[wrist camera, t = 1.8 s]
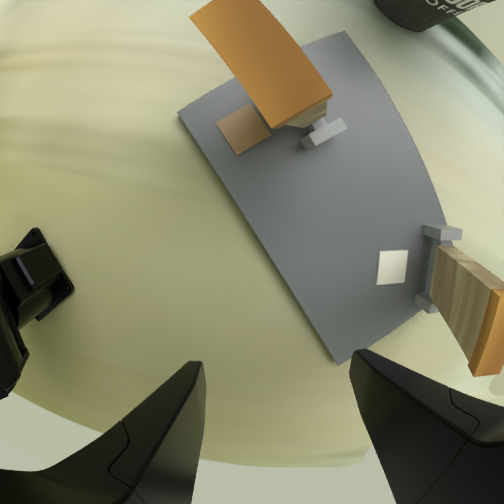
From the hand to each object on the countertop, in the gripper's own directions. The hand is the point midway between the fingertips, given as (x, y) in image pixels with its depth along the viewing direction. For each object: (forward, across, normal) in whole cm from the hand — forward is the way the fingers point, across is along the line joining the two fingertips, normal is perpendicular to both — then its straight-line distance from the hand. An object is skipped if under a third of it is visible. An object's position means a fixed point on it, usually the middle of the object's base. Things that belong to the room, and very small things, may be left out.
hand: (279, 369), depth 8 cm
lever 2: (+10, -14, +1) cm, 18 cm away
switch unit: (+12, -7, -4) cm, 15 cm away
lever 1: (+10, -3, -11) cm, 15 cm away
